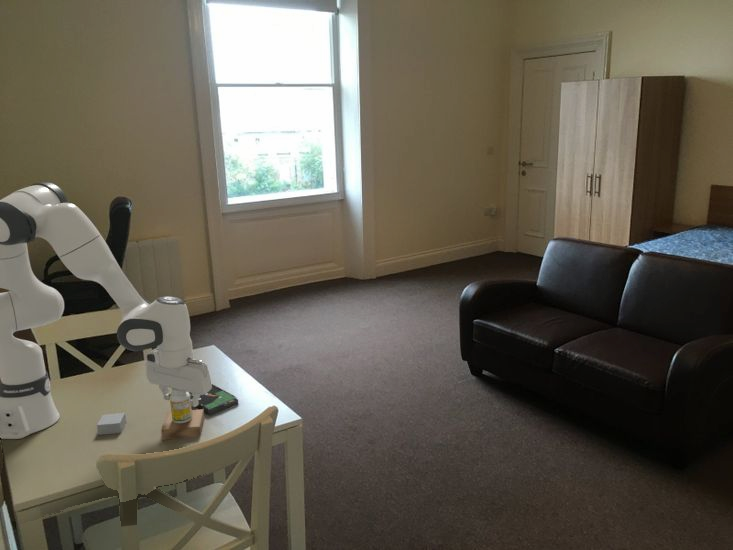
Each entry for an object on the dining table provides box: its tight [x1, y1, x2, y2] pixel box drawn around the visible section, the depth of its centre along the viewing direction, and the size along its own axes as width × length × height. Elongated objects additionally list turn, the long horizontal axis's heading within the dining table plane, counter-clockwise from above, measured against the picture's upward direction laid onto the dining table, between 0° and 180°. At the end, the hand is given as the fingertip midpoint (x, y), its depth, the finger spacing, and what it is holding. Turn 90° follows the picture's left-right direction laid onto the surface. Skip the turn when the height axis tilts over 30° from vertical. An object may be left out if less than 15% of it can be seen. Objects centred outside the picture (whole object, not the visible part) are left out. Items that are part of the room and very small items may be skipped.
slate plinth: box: [96, 412, 127, 436], centre depth 169 cm, size 6×6×3 cm
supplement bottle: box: [169, 388, 193, 423], centre depth 166 cm, size 5×5×10 cm
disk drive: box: [188, 383, 239, 417], centre depth 183 cm, size 10×3×15 cm
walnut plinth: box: [161, 409, 205, 441], centre depth 168 cm, size 10×10×3 cm
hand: (181, 402), depth 166 cm, fingers open, 8 cm apart
